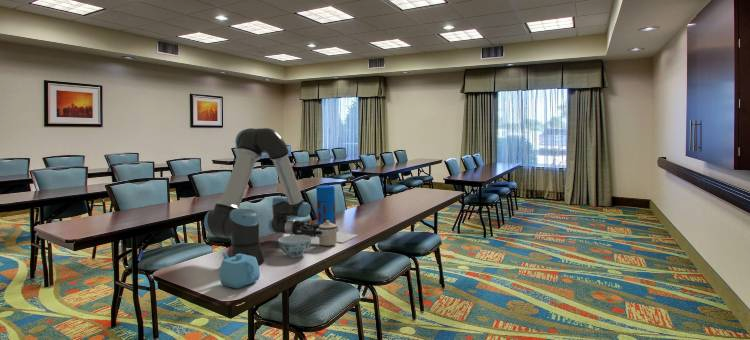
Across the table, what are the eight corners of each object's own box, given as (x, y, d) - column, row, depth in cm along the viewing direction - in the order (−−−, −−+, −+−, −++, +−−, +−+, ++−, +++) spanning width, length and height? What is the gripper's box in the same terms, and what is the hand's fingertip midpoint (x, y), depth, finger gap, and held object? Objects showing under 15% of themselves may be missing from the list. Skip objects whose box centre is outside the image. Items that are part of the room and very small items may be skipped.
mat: (343, 243, 211) (343, 242, 211) (320, 240, 217) (320, 239, 216) (357, 236, 225) (357, 234, 225) (335, 233, 231) (335, 232, 231)
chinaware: (309, 259, 184) (308, 242, 184) (275, 260, 184) (274, 243, 184) (313, 250, 199) (313, 234, 199) (282, 250, 199) (282, 235, 199)
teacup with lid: (340, 242, 209) (340, 219, 208) (330, 246, 201) (329, 223, 200) (321, 239, 215) (321, 217, 214) (310, 243, 207) (310, 221, 206)
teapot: (236, 274, 167) (235, 246, 166) (266, 282, 157) (265, 253, 156) (209, 283, 157) (207, 254, 156) (239, 293, 147) (238, 261, 146)
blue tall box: (329, 225, 253) (328, 184, 250) (339, 228, 244) (338, 186, 242) (314, 228, 246) (312, 186, 243) (323, 231, 237) (322, 188, 235)
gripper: (307, 230, 225) (343, 233, 216) (283, 239, 206) (321, 243, 196) (307, 216, 224) (343, 219, 215) (282, 224, 205) (321, 228, 196)
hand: (333, 231), depth 206 cm, fingers closed on teacup with lid, 9 cm apart
